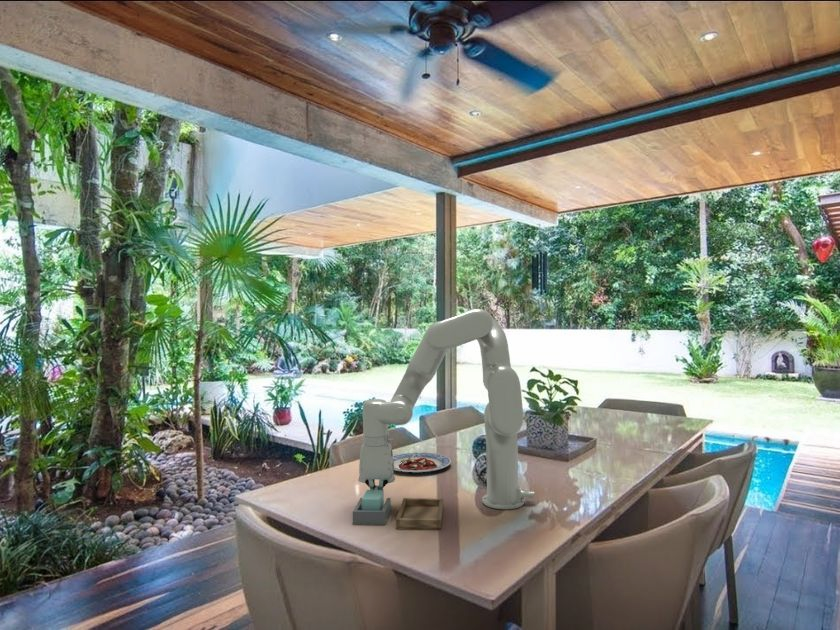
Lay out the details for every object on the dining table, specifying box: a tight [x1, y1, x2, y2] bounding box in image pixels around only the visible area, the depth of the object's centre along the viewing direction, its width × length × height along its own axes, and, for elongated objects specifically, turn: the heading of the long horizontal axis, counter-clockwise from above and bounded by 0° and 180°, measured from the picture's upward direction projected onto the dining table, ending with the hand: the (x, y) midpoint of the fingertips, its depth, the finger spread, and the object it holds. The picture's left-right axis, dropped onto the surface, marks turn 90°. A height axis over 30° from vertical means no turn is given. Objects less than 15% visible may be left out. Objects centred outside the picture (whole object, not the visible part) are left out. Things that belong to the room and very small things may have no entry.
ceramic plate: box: [393, 452, 452, 474], centre depth 197 cm, size 26×26×3 cm
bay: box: [352, 497, 392, 526], centre depth 147 cm, size 9×11×4 cm
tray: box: [395, 497, 444, 531], centre depth 146 cm, size 12×16×2 cm
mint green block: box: [361, 485, 385, 511], centre depth 150 cm, size 5×12×6 cm, turn 175°
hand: (377, 501), depth 155 cm, fingers closed on mint green block, 1 cm apart
